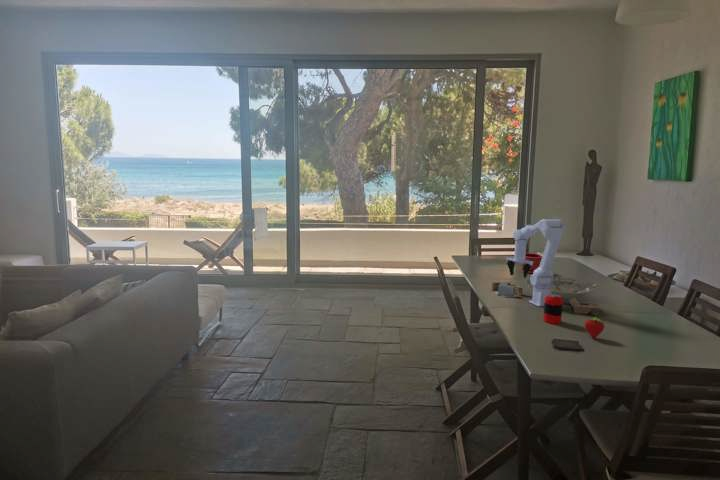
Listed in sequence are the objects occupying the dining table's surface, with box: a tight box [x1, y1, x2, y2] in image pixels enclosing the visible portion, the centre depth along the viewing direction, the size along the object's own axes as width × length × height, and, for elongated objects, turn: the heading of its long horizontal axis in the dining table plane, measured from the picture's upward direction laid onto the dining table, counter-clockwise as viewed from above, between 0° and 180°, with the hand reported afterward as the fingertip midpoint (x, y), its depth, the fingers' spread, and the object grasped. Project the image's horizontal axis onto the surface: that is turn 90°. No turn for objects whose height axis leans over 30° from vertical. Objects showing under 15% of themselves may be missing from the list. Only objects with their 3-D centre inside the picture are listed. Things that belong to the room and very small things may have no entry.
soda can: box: [542, 293, 564, 325], centre depth 219 cm, size 8×8×12 cm
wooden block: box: [568, 296, 601, 316], centre depth 240 cm, size 4×11×18 cm
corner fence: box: [491, 281, 523, 297], centre depth 268 cm, size 13×11×4 cm
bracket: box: [497, 283, 515, 298], centre depth 265 cm, size 9×8×5 cm
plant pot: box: [520, 252, 543, 273], centre depth 322 cm, size 13×13×12 cm
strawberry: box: [584, 315, 605, 339], centre depth 199 cm, size 6×8×10 cm
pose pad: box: [494, 291, 519, 298], centre depth 266 cm, size 10×9×1 cm
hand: (518, 276), depth 266 cm, fingers open, 7 cm apart
